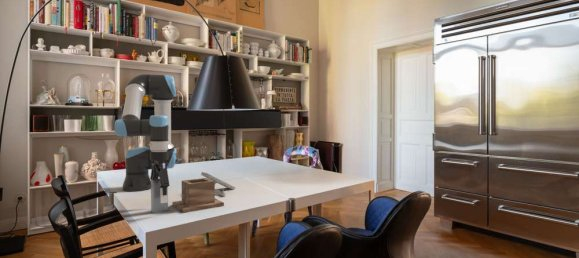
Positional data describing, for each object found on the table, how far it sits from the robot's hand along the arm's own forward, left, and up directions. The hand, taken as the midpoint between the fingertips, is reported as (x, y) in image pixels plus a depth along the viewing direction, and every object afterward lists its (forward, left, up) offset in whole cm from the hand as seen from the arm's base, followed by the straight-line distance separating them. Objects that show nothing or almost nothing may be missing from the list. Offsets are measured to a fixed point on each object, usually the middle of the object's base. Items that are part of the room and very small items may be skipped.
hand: (159, 199), depth 141 cm
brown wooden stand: (+1, +17, -5) cm, 18 cm away
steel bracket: (0, 0, -5) cm, 5 cm away
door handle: (-16, +38, -6) cm, 42 cm away
